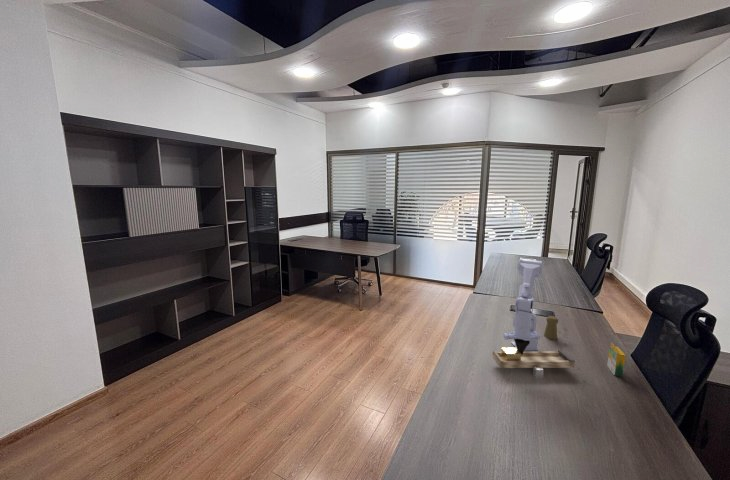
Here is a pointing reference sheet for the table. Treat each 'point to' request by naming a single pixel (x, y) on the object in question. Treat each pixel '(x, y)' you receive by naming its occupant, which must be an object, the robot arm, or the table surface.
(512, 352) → the block
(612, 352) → the crayon box
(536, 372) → the grey rectangular bar
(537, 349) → the robot arm
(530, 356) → the beam
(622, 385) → the table surface
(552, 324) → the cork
